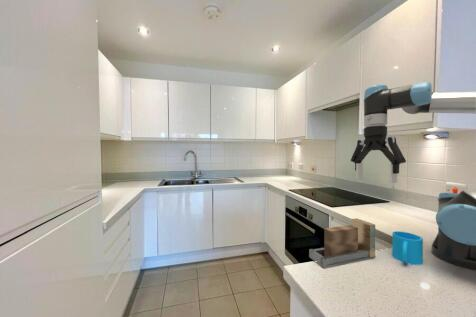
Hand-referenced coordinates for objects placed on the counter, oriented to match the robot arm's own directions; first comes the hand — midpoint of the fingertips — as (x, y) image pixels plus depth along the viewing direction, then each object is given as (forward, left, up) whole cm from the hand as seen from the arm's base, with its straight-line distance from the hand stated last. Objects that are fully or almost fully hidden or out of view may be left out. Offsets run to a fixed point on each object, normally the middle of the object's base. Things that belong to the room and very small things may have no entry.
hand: (374, 180), depth 77 cm
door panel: (+18, +2, -26) cm, 32 cm away
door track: (+18, +2, -27) cm, 32 cm away
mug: (-2, +10, -27) cm, 29 cm away
